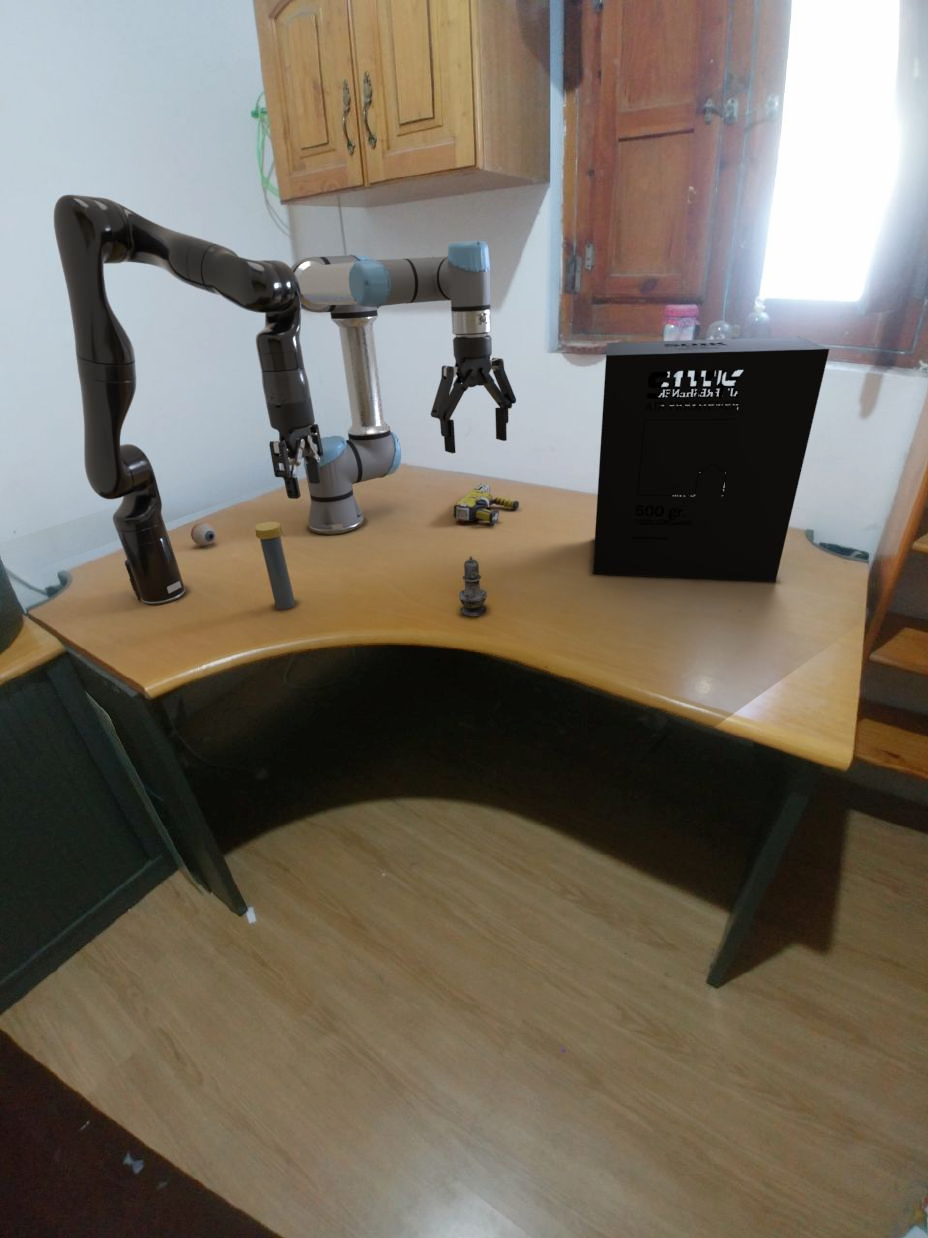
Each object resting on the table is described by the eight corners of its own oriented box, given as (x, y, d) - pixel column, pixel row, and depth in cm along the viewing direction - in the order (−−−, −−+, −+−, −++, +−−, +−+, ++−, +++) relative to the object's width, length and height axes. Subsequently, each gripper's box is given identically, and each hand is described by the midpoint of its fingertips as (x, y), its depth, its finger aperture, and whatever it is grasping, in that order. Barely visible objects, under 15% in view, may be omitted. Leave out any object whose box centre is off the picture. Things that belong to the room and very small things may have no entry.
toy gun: (527, 488, 179) (479, 481, 183) (505, 513, 159) (452, 504, 162) (525, 503, 181) (478, 496, 185) (503, 529, 161) (451, 520, 165)
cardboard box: (755, 543, 144) (798, 336, 121) (775, 581, 127) (829, 348, 104) (594, 538, 151) (606, 342, 129) (592, 573, 134) (606, 355, 112)
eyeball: (204, 551, 157) (198, 529, 154) (189, 547, 160) (183, 525, 157) (223, 542, 162) (217, 521, 159) (208, 539, 165) (202, 518, 162)
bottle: (286, 599, 132) (269, 523, 123) (298, 603, 130) (282, 526, 121) (272, 606, 129) (253, 529, 120) (284, 611, 127) (266, 533, 118)
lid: (271, 528, 124) (269, 519, 123) (287, 532, 122) (285, 524, 121) (251, 536, 121) (249, 527, 120) (267, 541, 118) (265, 532, 117)
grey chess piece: (485, 617, 120) (483, 562, 114) (456, 616, 121) (452, 561, 115) (490, 603, 125) (488, 550, 119) (462, 602, 126) (459, 549, 120)
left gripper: (288, 389, 109) (304, 478, 117) (245, 405, 97) (267, 502, 105) (326, 389, 107) (340, 479, 115) (288, 405, 95) (306, 504, 103)
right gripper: (429, 342, 108) (437, 460, 118) (533, 329, 120) (532, 437, 131) (407, 340, 113) (417, 454, 124) (508, 328, 125) (510, 432, 136)
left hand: (305, 490), depth 110 cm, fingers open, 8 cm apart
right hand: (476, 445), depth 127 cm, fingers open, 13 cm apart
